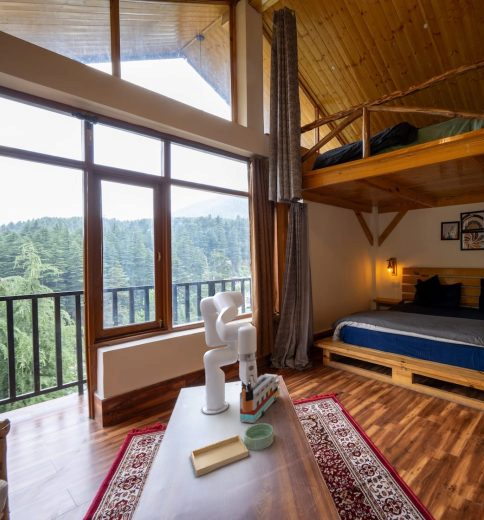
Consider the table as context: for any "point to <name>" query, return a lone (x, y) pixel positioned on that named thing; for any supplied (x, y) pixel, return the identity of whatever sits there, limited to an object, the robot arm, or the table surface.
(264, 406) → the multicoloured piece
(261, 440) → the bowl
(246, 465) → the table surface
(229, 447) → the tray
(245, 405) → the bottle
